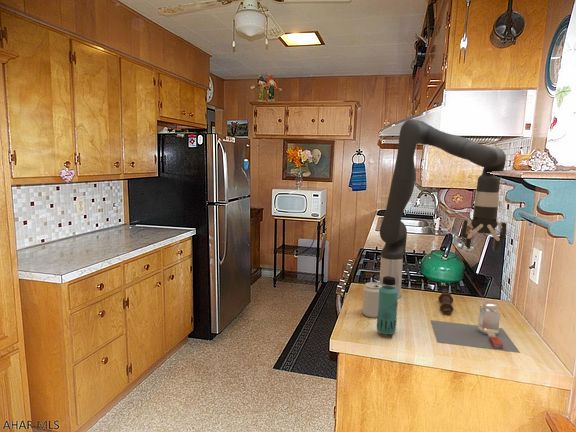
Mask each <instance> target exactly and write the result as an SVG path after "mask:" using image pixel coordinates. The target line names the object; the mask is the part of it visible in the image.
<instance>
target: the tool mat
mask: <svg viewBox="0 0 576 432" xmlns="http://www.w3.org/2000/svg"><path fill="white" fill-rule="evenodd" d="M429 322H430V324H431V326H432V329H433V334H434V336H435V340H436V343H438V344H446V345H452V346H453V345H455V346H460V347H461V346H462V347H469V348H477V349H486V350H487V349H488V350H494V351H500V352H509V353H519V354H521V352H520V350H519V349H518V347H517V346H516V345H515V343H514V342H513V340H512V339H511V338H510V337H509V335H508V334H507V333H506V331H505V329H503V328H502V327H499V332H498V336H496V337H498V338H499V339H500V341H501V342H502V343H503V349H497V348H493V347H492V345H491V343H490V342H489V338H488V337H487V336H486V335H483V334H481V333H479V332H478V331H477V328H478V324H477V325H474V324H468V323H467V324H465V323H460V322H459V323H457V322H451V321H449V322H448V321H440V320H432V319H430V321H429Z"/></svg>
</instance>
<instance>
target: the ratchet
mask: <svg viewBox="0 0 576 432" xmlns="http://www.w3.org/2000/svg"><path fill="white" fill-rule="evenodd" d="M477 326H478V328H477V331H478V332H479V333H481V334H483V335H486V336H487V337H488V338H489V342H490V343H491V345H492V347H493V348H497V349H503V343H502V342H501V341H500V339H499V338H498V337H496V336H498V332H499V330H493V329H484V328H482V327H481V326H480V324H479V322H478V323H477Z"/></svg>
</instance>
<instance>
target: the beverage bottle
mask: <svg viewBox="0 0 576 432" xmlns="http://www.w3.org/2000/svg"><path fill="white" fill-rule="evenodd" d="M383 284H385V285H386V286H382V287H381V288H380V289H379V302H378V316H377V318H376V330H377V331H378V332H379V333H380V334H384V335H393V334H395V333H396V330H397V319H398V317H397V315H398V304H399V303H398V298H397V297H398V290H397V289H396V288H395V287H393V286H388V285H395V278H394V277H390V276H385V277H383Z"/></svg>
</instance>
